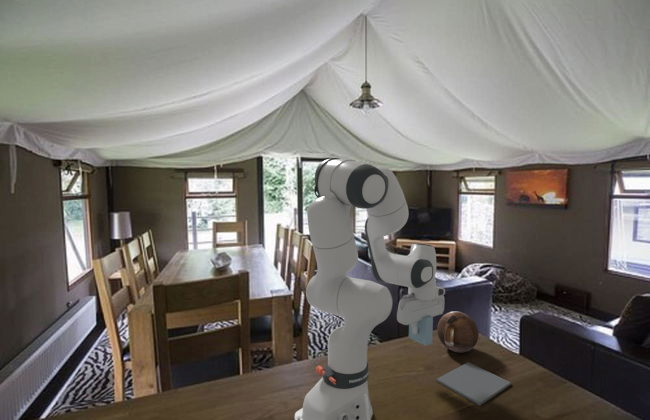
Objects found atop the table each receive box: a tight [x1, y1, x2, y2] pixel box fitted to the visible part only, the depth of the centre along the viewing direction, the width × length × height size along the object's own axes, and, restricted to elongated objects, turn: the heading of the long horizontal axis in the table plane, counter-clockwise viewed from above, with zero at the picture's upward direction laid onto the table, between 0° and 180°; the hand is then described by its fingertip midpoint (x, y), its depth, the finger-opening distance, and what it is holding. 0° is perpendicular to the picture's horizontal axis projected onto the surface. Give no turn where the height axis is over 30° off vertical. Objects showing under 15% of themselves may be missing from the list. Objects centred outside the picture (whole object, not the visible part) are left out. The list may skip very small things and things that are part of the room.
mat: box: [435, 361, 512, 407], centre depth 108 cm, size 18×15×1 cm
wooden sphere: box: [436, 311, 480, 353], centre depth 129 cm, size 15×15×15 cm
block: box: [408, 315, 434, 347], centre depth 112 cm, size 4×7×9 cm, turn 35°
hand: (420, 331), depth 112 cm, fingers closed on block, 3 cm apart
